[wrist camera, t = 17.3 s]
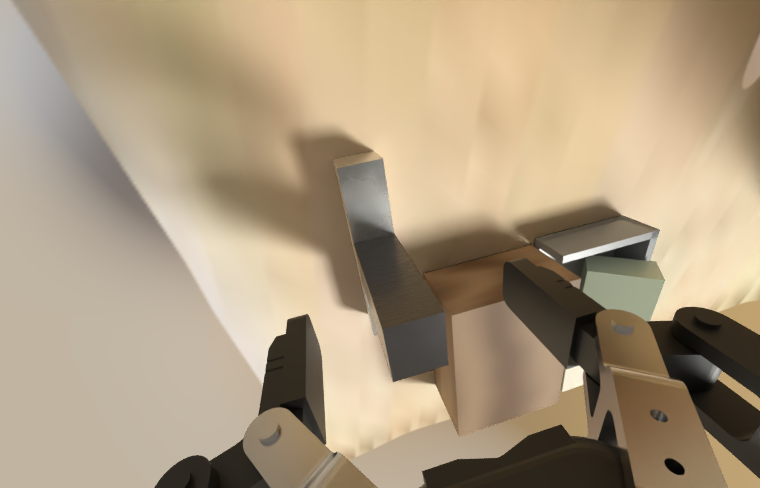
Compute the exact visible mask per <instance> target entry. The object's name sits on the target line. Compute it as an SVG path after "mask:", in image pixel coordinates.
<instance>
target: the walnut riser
mask: <svg viewBox="0 0 760 488" xmlns="http://www.w3.org/2000/svg"><path fill="white" fill-rule="evenodd" d="M523 257H524V258H527V259H528V260H529V261H531V262H532V263H533V264H535V265H536V266H537V267H538V266H542V267H544V268H547V269H550V270H552V271H554V272H556V273H557V274H559V275H560V276H561V277H563V278H564V279H565V281H566V280H567V281H568V282H570V283H571V284H572V285H573V286H574V287H577V288H578V289H579V288H580V283H581V278H580V277H578V276H577V275H575V274H574V273H572V272H571V271H569V270H568V269H566V268H565V267H564V266H562V265H561V264H559V263H558V262H556V261H555V260H553V259H552V258H550V257H549V256H547V255H546V254H544V253H543V252H541V251H540V250H538V249H537V248H535V247H534V246H532V245H528V246H525V247H521V248H517V249H513V250H510V251H506V252H502V253H498V254H495V255H491V256H487V257H483V258H480V259H476V260H472V261H468V262H465V263H461V264H457V265H453V266H450V267H446V268H442V269H438V270H435V271H431V272H427V273H424V281H425V282H426V284H427V285H428V287H429V288H430V290H431V292H432V293H433V295H434V296H435V298H436V299H437V301H438V302H439V304H440V306H441V307H442V309H443V310H444V312H445V324H446V338H447V352H448V365H447V366H443V367H440V368H437V369H434V373H435V382H436V387H437V389H438V391H439V393H440V395H441V398H442V400H443V402H444V404H445V407H446V409H447V411H448V413H449V415H450V418H451V420H452V422H453V424H454V427H455V429H456V431H457V433H458V435H459V436H462V435H465V434H468V433H471V432H474V431H477V430H480V429H483V428H486V427H489V426H492V425H495V424H498V423H500V422H504V421H506V420H509V419H512V418H515V417H518V416H521V415H524V414H527V413H530V412H533V411H536V410H539V409H542V408H545V407H548V406H550V405H553V404H556V403H558V399H559V394H560V389H561V383H562V378H563V373H564V366H563V365H562V364H561V363H560V362H559V361H558V360H557V359H556V358H555V357H554V356H553V355H552V353H551V352H550V351H549V350H548V349H547V348H546V347H545V346H544V345H543V344H542V343H541V342H540V341H539V340H538V338H537V337H536V336H535V335H534V334H533V333H532V332H531V331H530V330H529V329H528V328H527V327H526V326H525V325H524V324H523V322H522V321H521V320H520V319H519V318H518V317H517V316H516V315H515V314H514V313H513V312H512V311H511V310H510V309H509V307H508V306H507V305H506V303H505V301H504V298H503V266H504V263H505V262H508V261H511V260H515V259H519V258H523Z"/></svg>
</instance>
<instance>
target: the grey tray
mask: <svg viewBox="0 0 760 488" xmlns="http://www.w3.org/2000/svg"><path fill="white" fill-rule="evenodd" d="M659 231H660V230H659V229H656V228H654V227H651V226H649V225H646V224H643V223H641V222H638V221H636V220H633V219H630V218H628V217H625V216H623V215H622V216H618V217H614V218H610V219H607V220H603V221H599V222H595V223H591V224H588V225H584V226H580V227H576V228H572V229H569V230H565V231H561V232H557V233H553V234H550V235H546V236H542V237H538V238H535V244H534V247H535V248H537V249H538V250H540V251H541V252H543V253H544V254H546V255H547V256H549V257H550V258H552V259H553V260H555V261H556V262H558V263H559V264H561V265H562V266H564V267H565V268H566V269H568V270H569V271H571V272H572V273H574V274H575V275H577V276H578V277H581V272H582V267H583V262H584V257H588V256H591V255H595V256H605V257H615V258H625V259H635V260H645V261H650V260H651V256H652V253H653V250H654V247H655V244H656V240H657V237H658V234H659Z"/></svg>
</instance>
